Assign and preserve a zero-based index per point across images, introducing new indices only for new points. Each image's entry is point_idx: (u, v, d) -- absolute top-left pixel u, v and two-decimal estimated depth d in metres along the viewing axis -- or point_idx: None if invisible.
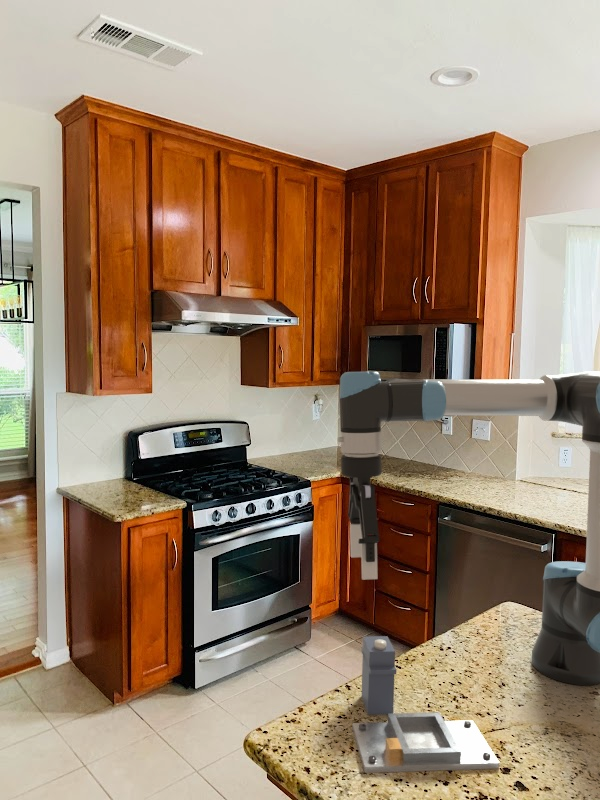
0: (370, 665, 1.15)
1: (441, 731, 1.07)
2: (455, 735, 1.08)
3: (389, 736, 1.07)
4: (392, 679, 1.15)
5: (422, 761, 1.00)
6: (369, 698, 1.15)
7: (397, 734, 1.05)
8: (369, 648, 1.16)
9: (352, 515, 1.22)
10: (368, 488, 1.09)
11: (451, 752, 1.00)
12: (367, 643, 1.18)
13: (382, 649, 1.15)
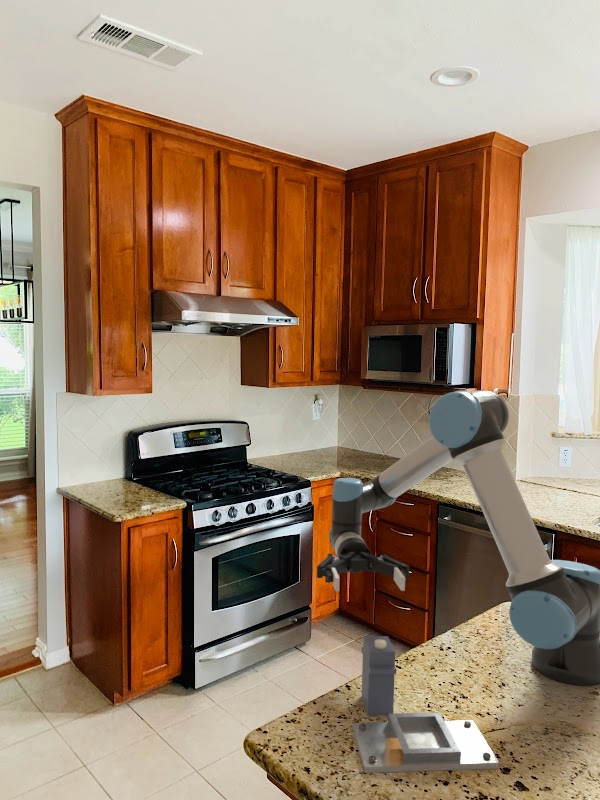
0: (370, 665, 1.15)
1: (441, 731, 1.07)
2: (455, 735, 1.08)
3: (389, 736, 1.07)
4: (392, 679, 1.15)
5: (422, 761, 1.00)
6: (369, 698, 1.15)
7: (397, 734, 1.05)
8: (369, 648, 1.16)
9: (388, 574, 1.36)
10: None
11: (451, 752, 1.00)
12: (367, 643, 1.18)
13: (382, 649, 1.15)
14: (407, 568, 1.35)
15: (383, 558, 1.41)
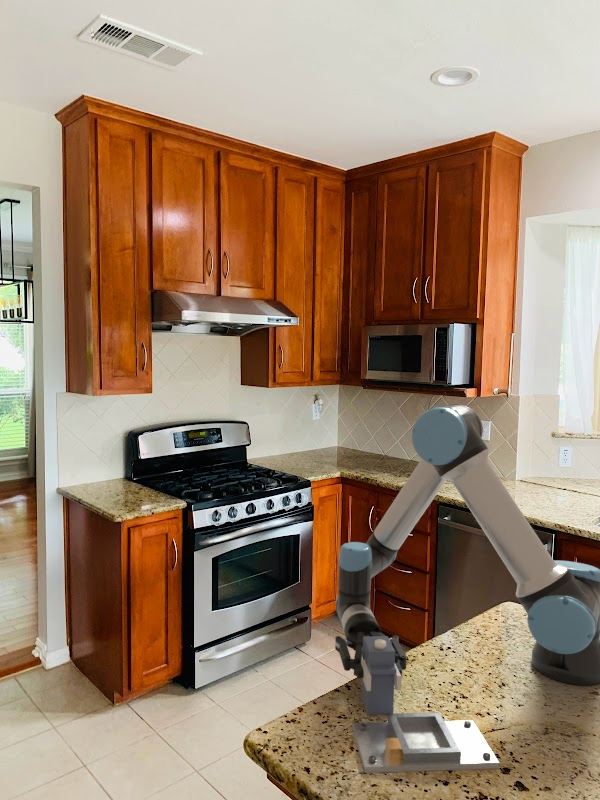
0: (370, 665, 1.15)
1: (441, 731, 1.07)
2: (455, 735, 1.08)
3: (389, 736, 1.07)
4: (392, 679, 1.15)
5: (422, 761, 1.00)
6: (369, 698, 1.15)
7: (397, 734, 1.05)
8: (369, 648, 1.16)
9: None
10: (335, 643, 1.29)
11: (451, 752, 1.00)
12: (367, 643, 1.18)
13: (382, 649, 1.15)
14: (403, 659, 1.21)
15: (392, 641, 1.28)
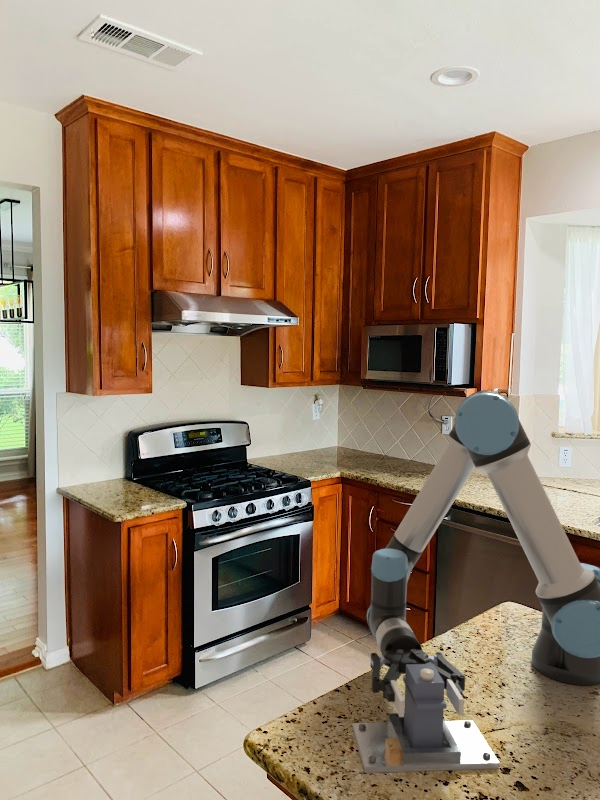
0: (416, 698, 1.02)
1: None
2: (455, 735, 1.08)
3: (389, 736, 1.07)
4: (441, 714, 1.02)
5: (422, 761, 1.00)
6: (415, 735, 1.02)
7: (397, 734, 1.05)
8: (415, 679, 1.03)
9: None
10: None
11: (451, 752, 1.00)
12: (411, 672, 1.05)
13: (429, 680, 1.02)
14: (462, 679, 1.08)
15: (437, 659, 1.16)
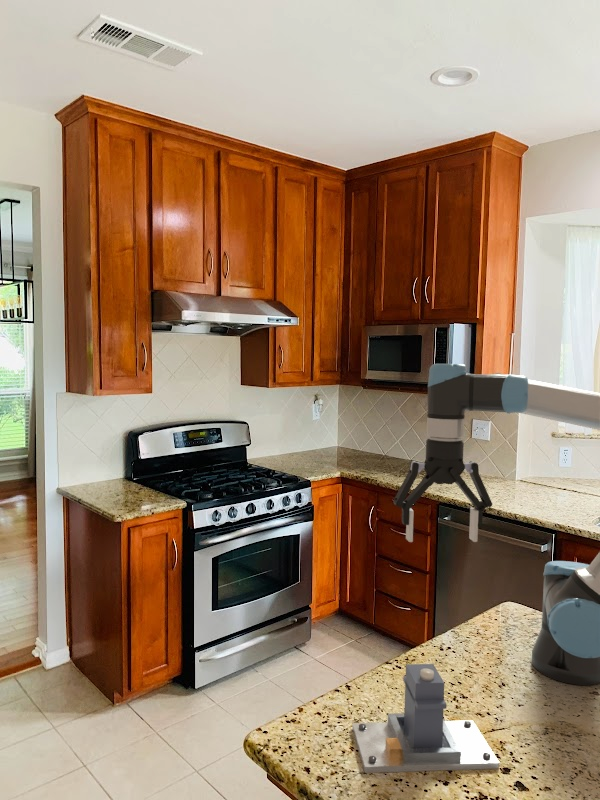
0: (416, 698, 1.02)
1: None
2: (455, 735, 1.08)
3: (389, 736, 1.07)
4: (441, 714, 1.02)
5: (422, 761, 1.00)
6: (415, 735, 1.02)
7: (397, 734, 1.05)
8: (415, 679, 1.03)
9: (468, 498, 1.30)
10: (412, 463, 1.28)
11: (451, 752, 1.00)
12: (411, 672, 1.05)
13: (429, 680, 1.02)
14: (489, 506, 1.29)
15: (472, 473, 1.28)
